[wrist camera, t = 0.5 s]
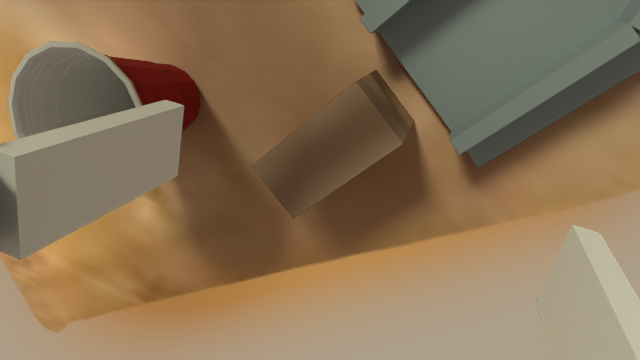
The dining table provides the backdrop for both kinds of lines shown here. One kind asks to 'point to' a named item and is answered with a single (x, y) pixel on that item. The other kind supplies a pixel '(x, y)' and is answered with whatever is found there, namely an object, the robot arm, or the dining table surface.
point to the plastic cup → (89, 87)
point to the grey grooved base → (508, 60)
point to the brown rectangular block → (335, 144)
